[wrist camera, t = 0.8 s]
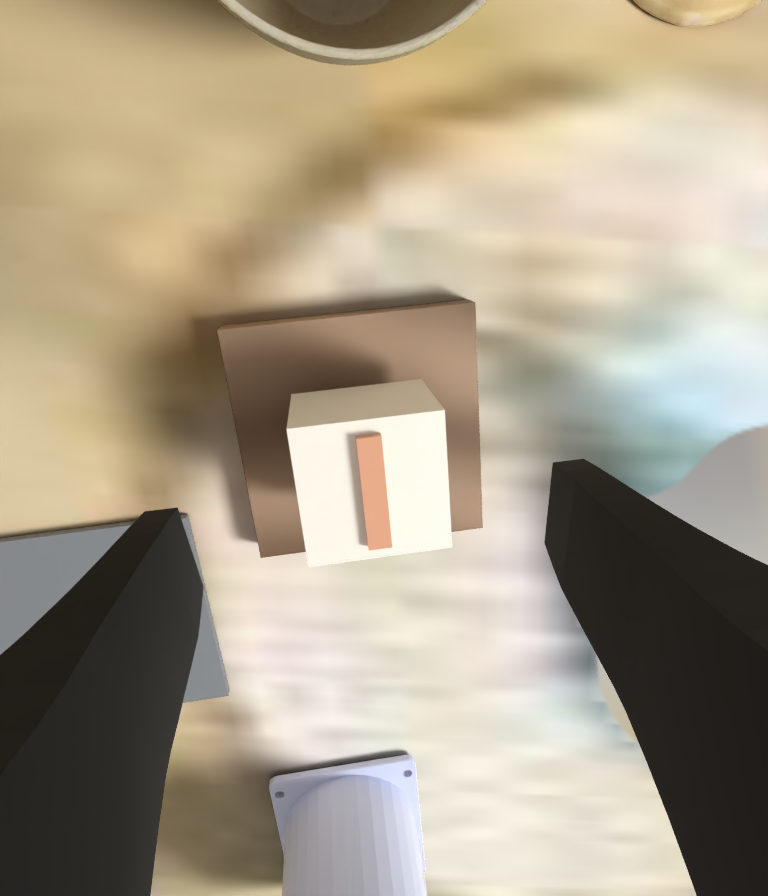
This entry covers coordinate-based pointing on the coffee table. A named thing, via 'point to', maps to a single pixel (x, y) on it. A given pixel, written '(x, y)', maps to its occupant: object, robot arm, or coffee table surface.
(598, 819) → the coffee table surface
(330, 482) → the cream cube
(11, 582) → the mat
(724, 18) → the hand bell
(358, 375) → the post stand
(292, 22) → the flower pot
